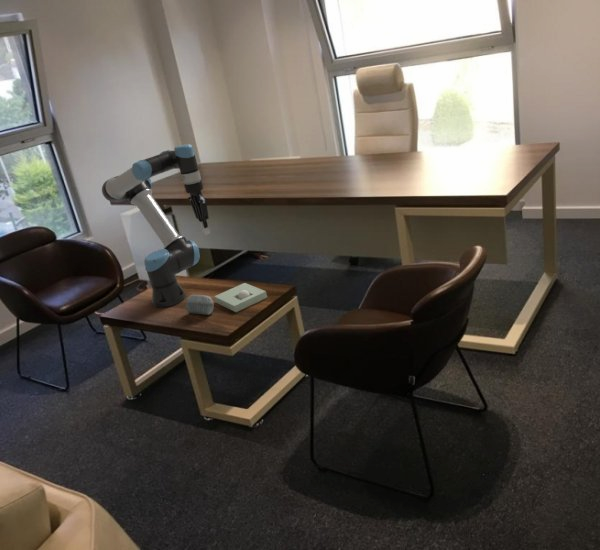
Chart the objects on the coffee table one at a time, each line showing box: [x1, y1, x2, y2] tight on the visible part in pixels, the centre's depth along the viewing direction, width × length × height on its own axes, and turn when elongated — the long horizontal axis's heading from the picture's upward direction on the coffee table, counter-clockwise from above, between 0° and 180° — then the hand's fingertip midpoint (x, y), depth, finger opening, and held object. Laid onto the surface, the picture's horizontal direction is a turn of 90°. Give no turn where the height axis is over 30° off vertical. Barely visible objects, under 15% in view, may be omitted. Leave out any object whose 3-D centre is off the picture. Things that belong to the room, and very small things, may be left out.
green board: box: [214, 282, 268, 313], centre depth 258 cm, size 18×16×3 cm
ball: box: [238, 290, 250, 300], centre depth 255 cm, size 5×5×5 cm
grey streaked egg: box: [185, 294, 215, 316], centre depth 253 cm, size 14×10×10 cm
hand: (206, 234), depth 257 cm, fingers closed
